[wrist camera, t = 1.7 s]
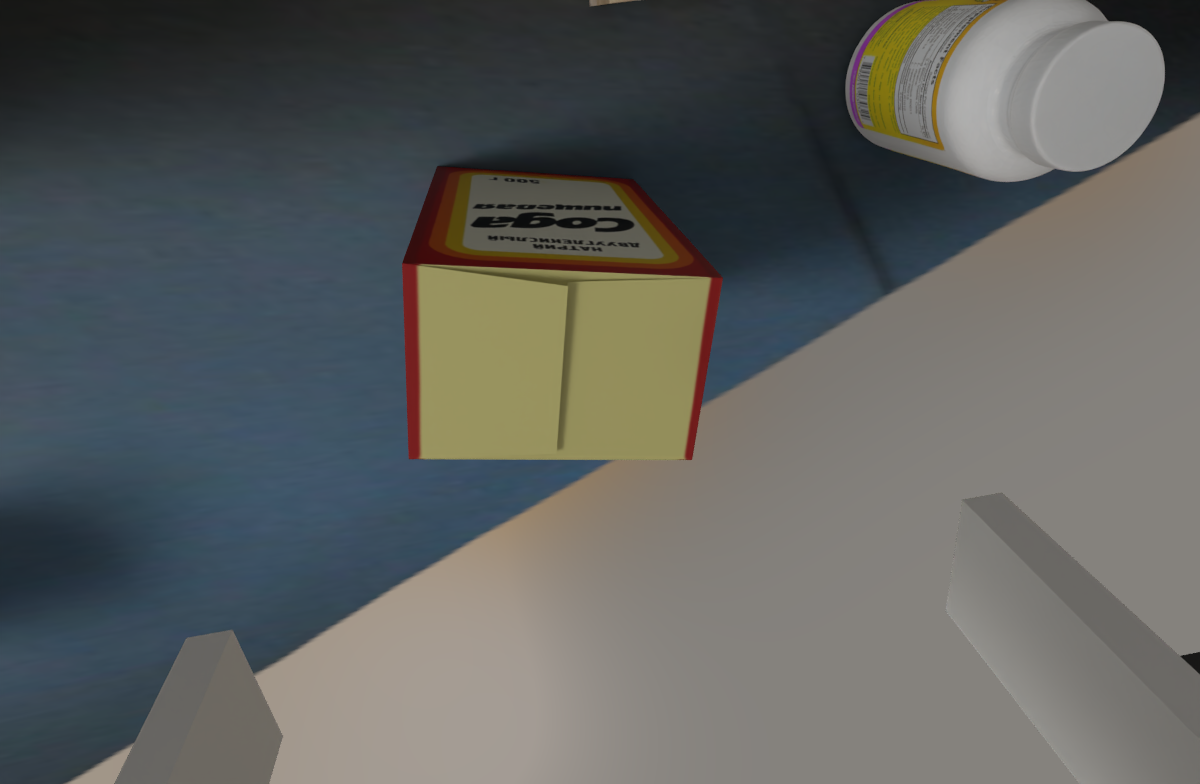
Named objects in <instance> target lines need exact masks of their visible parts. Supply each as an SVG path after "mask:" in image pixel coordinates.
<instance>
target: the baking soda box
mask: <svg viewBox="0 0 1200 784" xmlns="http://www.w3.org/2000/svg"><path fill="white" fill-rule="evenodd" d="M402 270H403V299H404V329H405V359H406V389H407V419H408V449H409V459H558V460H692V456H693V451H694V445H695V439H696V433H697V427H698V421H699V415H700V409H701V404H702V398H703V392H704V386H705V380H706V374H707V368H708V362H709V356H710V351H711V345H712V339H713V333H714V327H715V321H716V315H717V309H718V303H719V297H720V292H721V286H722V280H723V278H722V276H721V275H720V274H719V273H718V272H717V271H716V270H715V269H714V268H713V267H712V265H711V264H710V263H709V262H708V261H707V260H706V259H705V258H704V257H703V256H702V254H701V253H700V252H699V251H698V250H697V249H696V248H695V247H694V246H693V245H692V243H691V242H690V241H689V240H688V239H687V238H686V237H685V236H684V235H683V234H682V232H681V231H680V230H679V229H678V228H677V227H676V226H675V225H674V224H673V223H672V221H671V220H670V219H669V218H668V217H667V216H666V215H665V214H664V213H663V212H662V210H661V209H660V208H659V207H658V206H657V205H656V204H655V203H654V202H653V201H652V199H651V198H650V197H649V196H648V195H647V194H646V193H645V192H644V191H643V190H642V188H641V187H640V186H639V185H638V184H637V183H636V182H635V181H634V180H633V179H621V178H606V177H591V176H576V175H561V174H546V173H531V172H516V171H501V170H486V169H471V168H456V167H441V166H437V169H436V171H435V174H434V177H433V180H432V182H431V185H430V188H429V191H428V193H427V196H426V199H425V202H424V205H423V207H422V210H421V213H420V216H419V218H418V221H417V224H416V227H415V230H414V232H413V235H412V238H411V241H410V243H409V246H408V249H407V252H406V254H405V257H404V260H403V263H402Z"/></svg>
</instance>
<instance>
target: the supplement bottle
mask: <svg viewBox="0 0 1200 784" xmlns="http://www.w3.org/2000/svg"><path fill="white" fill-rule="evenodd" d="M1164 80H1165V65H1164V59H1163V54H1162V51H1161V48H1160V46H1159V44H1158V43H1157V41H1156V40H1155V38H1154V37H1153V36H1152V35H1151V34H1150V33H1149V32H1148V31H1147V30H1146V29H1144V28H1142V27H1141V26H1139V25H1136V24H1133V23H1129V22H1123V21H1108V20H1107V19H1106V18H1105V16H1104V15H1103V14H1102V13H1101V11H1100V10H1099V9H1097V8H1096V7H1095V6H1094V5H1092V4H1091V3H1089V2H1088V1H1086V0H923V1H915V2H911V3H907V4H904V5H902V6H899V7H897V8H895V9H893V10H892V11H890V12H888V13H887V14H885V15H884V16H882V17H881V18H880V19H879V20H877V21H876V22H875V23H874V24H873V25H872V26H871V27H870V28H869V30H868V31H867V32H866V33H865V35H864V36H863V38H862V39H861V41H860V42H859V44H858V46H857V47H856V49H855V51H854V53H853V56H852V58H851V61H850V64H849V67H848V71H847V76H846V86H845V94H846V103H847V108H848V112H849V114H850V117H851V119H852V121H853V123H854V125H855V126H856V128H857V129H858V130H859V132H860V133H861V134H862V135H863V136H864V137H865V138H867V139H868V140H869V141H871V142H872V143H874V144H876V145H878V146H881V147H883V148H886V149H889V150H892V151H895V152H898V153H902V154H905V155H908V156H912V157H915V158H918V159H922V160H925V161H929V162H932V163H935V164H938V165H942V166H945V167H948V168H952V169H955V170H958V171H961V172H964V173H967V174H970V175H974V176H977V177H980V178H984V179H987V180H991V181H998V182H1014V181H1022V180H1027V179H1031V178H1034V177H1037V176H1040V175H1043V174H1045V173H1047V172H1049V171H1051V170H1053V169H1059V170H1064V171H1073V172H1076V171H1086V170H1091V169H1094V168H1097V167H1100V166H1102V165H1105V164H1107V163H1109V162H1111V161H1112V160H1114V159H1115V158H1117V157H1118V156H1120V155H1121V154H1122V153H1123V152H1125V151H1126V150H1127V149H1128V148H1129V147H1130V146H1131V145H1132V144H1133V143H1134V142H1135V141H1136V140H1137V139H1138V138H1139V137H1140V136H1141V134H1142V133H1143V131H1144V130H1145V129H1146V127H1147V125H1148V124H1149V122H1150V121H1151V119H1152V117H1153V115H1154V113H1155V112H1156V109H1157V107H1158V105H1159V102H1160V99H1161V96H1162V92H1163V87H1164Z"/></svg>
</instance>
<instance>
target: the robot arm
mask: <svg viewBox="0 0 1200 784" xmlns="http://www.w3.org/2000/svg"><path fill="white" fill-rule="evenodd" d="M946 612H947V613H948V615H949V616H950V617H951V618H952V620H953V621H954V622H955V623H956V625H957V626H958V627H959V629H960V630H961V631H962V632H963V634H964V635H965V636H966V638H967V639H968V640H969V642H970V643H971V644H972V646H973V647H974V648H975V649H976V651H977V652H978V653H979V655H980V656H981V657H982V658H983V660H984V661H985V662H986V664H987V665H988V666H989V667H990V669H991V670H992V671H993V673H994V674H995V675H996V676H997V678H998V679H999V680H1000V682H1001V683H1002V684H1003V686H1004V687H1005V688H1006V689H1007V691H1008V692H1009V693H1010V695H1011V696H1012V697H1013V698H1014V700H1015V701H1016V702H1017V704H1018V705H1019V706H1020V707H1021V709H1022V710H1023V711H1024V713H1025V714H1026V715H1027V717H1028V718H1029V719H1030V720H1031V722H1032V723H1033V724H1034V726H1035V727H1036V728H1037V729H1038V731H1039V732H1040V733H1041V734H1042V736H1043V737H1044V738H1045V740H1046V741H1047V742H1048V744H1049V745H1050V746H1051V748H1052V749H1053V750H1054V751H1055V753H1056V754H1057V755H1058V756H1059V758H1060V759H1061V760H1062V762H1063V763H1064V764H1065V765H1066V767H1067V768H1068V770H1069V771H1070V772H1071V773H1072V775H1073V776H1074V777H1075V778H1076V780H1077V781H1078V782H1079V784H1200V652H1198V653H1193V654H1188V655H1183V656H1179V655H1178V654H1177V653H1176V652H1175V651H1174V650H1173V649H1172V648H1171V647H1169V646H1168V645H1167V644H1166V643H1165V642H1164V641H1163V640H1162V639H1161V638H1160V637H1158V636H1157V635H1156V634H1155V633H1154V632H1153V631H1152V630H1151V629H1150V628H1149V627H1148V626H1147V625H1145V624H1144V623H1143V622H1142V621H1141V620H1140V619H1139V618H1138V617H1137V616H1136V615H1135V614H1133V613H1132V612H1131V611H1130V610H1129V609H1128V608H1127V607H1126V606H1125V605H1124V604H1122V603H1121V602H1120V601H1119V600H1118V599H1117V598H1116V597H1115V596H1114V595H1113V594H1112V593H1111V592H1110V591H1108V590H1107V589H1106V588H1105V587H1104V586H1103V585H1102V584H1101V583H1100V582H1099V581H1098V580H1097V579H1095V578H1094V577H1093V576H1092V575H1091V574H1090V573H1089V572H1088V571H1087V570H1085V569H1084V568H1083V567H1082V566H1081V565H1080V564H1079V563H1078V562H1077V561H1076V560H1075V559H1073V557H1071V556H1070V555H1069V554H1068V553H1067V552H1066V551H1065V550H1064V549H1063V548H1062V547H1061V546H1059V545H1058V544H1057V543H1056V542H1055V541H1054V540H1053V539H1052V538H1051V537H1050V536H1048V534H1046V533H1045V532H1044V531H1043V530H1042V529H1041V528H1040V527H1039V526H1038V525H1037V524H1036V523H1034V522H1033V521H1032V520H1031V519H1030V518H1029V517H1028V516H1027V515H1026V514H1025V513H1023V512H1022V511H1021V510H1020V509H1019V508H1018V507H1017V506H1016V505H1015V504H1014V503H1013V502H1012V501H1010V500H1009V499H1008V498H1007V497H1006V496H1005V495H1004V494H1003V493H997V494H992V495H986V496H980V497H975V498H969V499H963V500H962V505H961V512H960V518H959V525H958V532H957V538H956V545H955V552H954V559H953V565H952V572H951V579H950V585H949V592H948V599H947V605H946ZM282 737H283V735H282V733H281V731H280V729H279V727H278V725H277V723H276V721H275V719H274V717H273V714H272V712H271V710H270V708H269V706H268V704H267V702H266V700H265V698H264V696H263V694H262V691H261V689H260V687H259V685H258V683H257V681H256V679H255V677H254V674H253V672H252V670H251V668H250V666H249V664H248V662H247V660H246V658H245V656H244V653H243V651H242V649H241V647H240V645H239V643H238V641H237V639H236V637H235V635H234V632H233V630H229V631H223V632H218V633H212V634H206V635H201V636H195V637H190V638H186V640H185V642H184V644H183V646H182V648H181V650H180V652H179V654H178V656H177V658H176V660H175V662H174V664H173V666H172V668H171V670H170V672H169V674H168V676H167V678H166V680H165V682H164V684H163V686H162V688H161V690H160V693H159V695H158V697H157V699H156V701H155V703H154V705H153V707H152V709H151V711H150V713H149V715H148V717H147V719H146V721H145V723H144V725H143V727H142V729H141V731H140V733H139V735H138V737H137V739H136V741H135V743H134V745H133V747H132V749H131V751H130V753H129V755H128V757H127V760H126V761H125V763H124V765H123V767H122V769H121V771H120V773H119V775H118V777H117V779H116V781H115V783H114V784H269V782H270V778H271V775H272V771H273V768H274V765H275V761H276V758H277V754H278V751H279V747H280V744H281V741H282Z"/></svg>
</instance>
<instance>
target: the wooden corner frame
mask: <svg viewBox="0 0 1200 784" xmlns="http://www.w3.org/2000/svg"><path fill="white" fill-rule="evenodd" d="M630 1H638V0H589V4H590V6H597V5H606V4H614V3H622V2H630Z"/></svg>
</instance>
